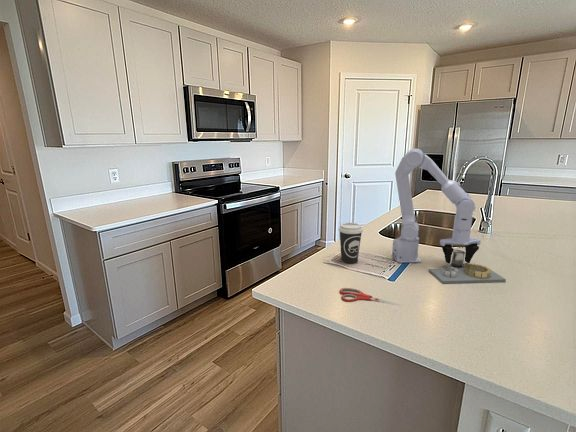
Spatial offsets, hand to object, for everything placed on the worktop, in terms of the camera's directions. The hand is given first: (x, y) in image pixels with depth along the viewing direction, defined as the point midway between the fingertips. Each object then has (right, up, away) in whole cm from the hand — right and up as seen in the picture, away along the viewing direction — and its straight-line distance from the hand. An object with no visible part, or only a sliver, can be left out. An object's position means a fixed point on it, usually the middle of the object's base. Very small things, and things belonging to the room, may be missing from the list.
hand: (457, 262), depth 119 cm
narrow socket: (-8, -4, -9) cm, 12 cm away
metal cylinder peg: (0, -1, 0) cm, 2 cm away
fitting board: (-2, -4, -8) cm, 9 cm away
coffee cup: (-40, 0, +7) cm, 41 cm away
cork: (+13, +4, +22) cm, 26 cm away
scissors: (-39, -9, -22) cm, 45 cm away
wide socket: (+2, -4, -8) cm, 9 cm away
